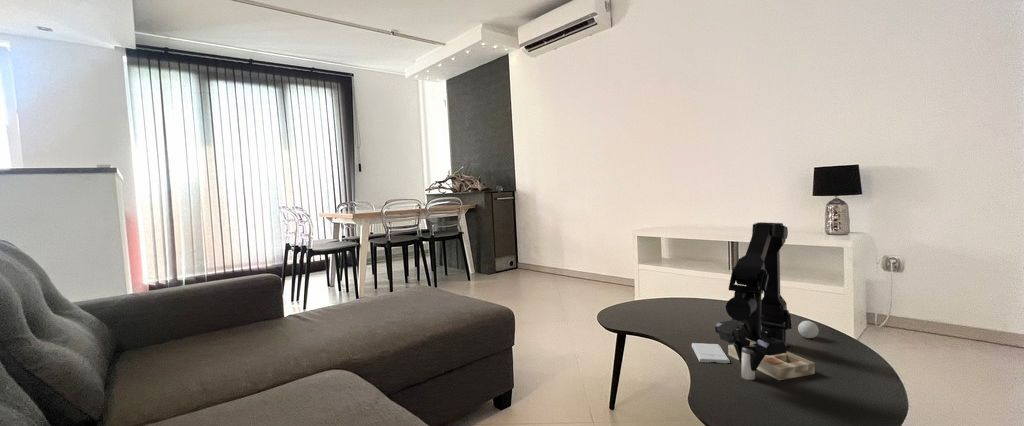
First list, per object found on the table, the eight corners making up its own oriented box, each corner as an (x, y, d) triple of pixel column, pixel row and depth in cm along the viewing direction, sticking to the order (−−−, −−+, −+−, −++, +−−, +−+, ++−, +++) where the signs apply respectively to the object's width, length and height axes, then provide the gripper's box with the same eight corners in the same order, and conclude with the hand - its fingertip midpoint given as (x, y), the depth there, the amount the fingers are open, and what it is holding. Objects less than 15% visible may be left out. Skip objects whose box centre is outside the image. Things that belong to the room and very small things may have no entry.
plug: (748, 373, 120) (748, 345, 119) (757, 378, 117) (758, 349, 116) (738, 375, 119) (739, 346, 118) (747, 380, 116) (748, 351, 115)
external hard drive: (719, 349, 139) (729, 365, 127) (691, 347, 141) (699, 363, 128) (719, 344, 139) (730, 359, 127) (691, 342, 140) (699, 358, 128)
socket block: (760, 349, 136) (760, 339, 136) (814, 373, 119) (814, 362, 118) (728, 354, 133) (728, 344, 133) (778, 380, 115) (779, 368, 115)
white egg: (821, 341, 141) (821, 324, 141) (800, 339, 143) (800, 323, 143) (813, 333, 148) (814, 317, 148) (794, 332, 150) (794, 316, 150)
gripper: (699, 304, 123) (699, 358, 124) (751, 325, 105) (751, 388, 106) (732, 300, 126) (731, 353, 127) (788, 320, 108) (787, 381, 109)
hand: (748, 368), depth 118 cm, fingers closed on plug, 3 cm apart
